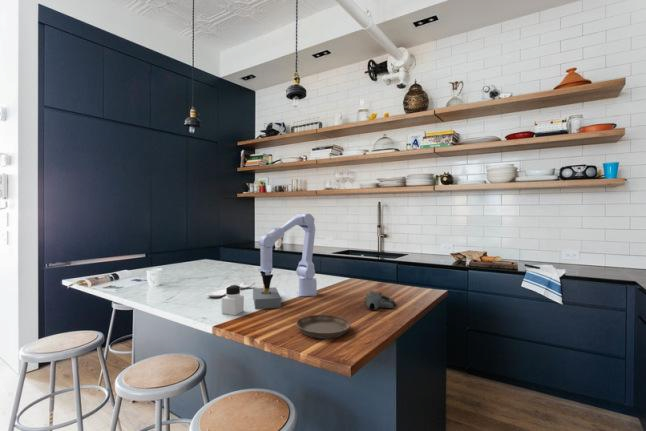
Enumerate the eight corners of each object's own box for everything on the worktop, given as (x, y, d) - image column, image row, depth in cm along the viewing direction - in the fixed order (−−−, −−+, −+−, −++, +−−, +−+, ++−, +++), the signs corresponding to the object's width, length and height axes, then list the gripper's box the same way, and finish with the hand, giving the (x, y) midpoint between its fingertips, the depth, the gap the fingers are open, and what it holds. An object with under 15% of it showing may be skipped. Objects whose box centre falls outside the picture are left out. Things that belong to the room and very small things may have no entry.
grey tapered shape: (362, 299, 157) (395, 305, 153) (368, 286, 181) (396, 291, 178) (361, 310, 157) (394, 316, 154) (367, 295, 181) (395, 301, 178)
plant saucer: (347, 322, 141) (347, 314, 141) (353, 341, 121) (353, 332, 121) (297, 322, 141) (297, 314, 141) (295, 341, 120) (295, 332, 120)
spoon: (255, 287, 201) (255, 281, 201) (215, 300, 173) (215, 293, 173) (244, 286, 206) (244, 280, 205) (202, 298, 177) (202, 291, 177)
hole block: (275, 295, 182) (275, 287, 182) (280, 307, 161) (281, 297, 161) (252, 296, 179) (252, 288, 179) (255, 309, 158) (255, 299, 158)
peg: (269, 300, 172) (269, 283, 172) (269, 302, 169) (269, 284, 169) (263, 301, 171) (263, 283, 171) (263, 302, 168) (263, 284, 168)
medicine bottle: (244, 311, 155) (244, 284, 154) (235, 315, 148) (235, 288, 148) (230, 309, 157) (230, 283, 157) (221, 313, 150) (221, 286, 150)
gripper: (257, 257, 176) (257, 284, 176) (259, 262, 161) (259, 290, 162) (271, 257, 177) (271, 283, 178) (274, 261, 163) (274, 289, 164)
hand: (266, 286), depth 170 cm, fingers open, 7 cm apart
